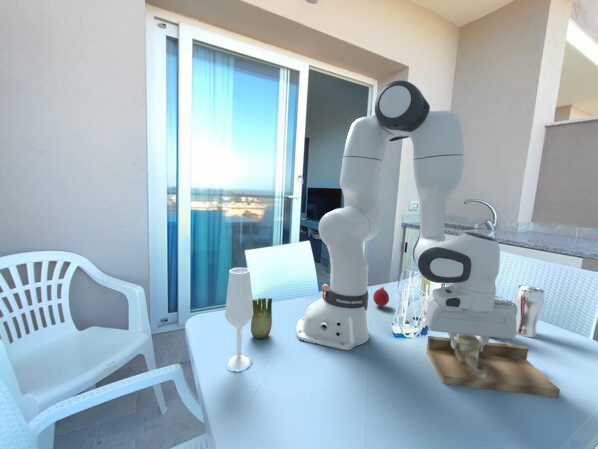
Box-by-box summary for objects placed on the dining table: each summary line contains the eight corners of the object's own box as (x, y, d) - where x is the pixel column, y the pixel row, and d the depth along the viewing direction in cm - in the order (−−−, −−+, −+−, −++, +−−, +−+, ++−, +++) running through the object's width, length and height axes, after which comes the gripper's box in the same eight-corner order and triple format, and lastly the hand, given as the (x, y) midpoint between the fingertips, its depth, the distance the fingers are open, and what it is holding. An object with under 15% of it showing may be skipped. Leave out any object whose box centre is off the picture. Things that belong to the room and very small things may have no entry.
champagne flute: (243, 351, 71) (243, 264, 68) (257, 364, 67) (259, 271, 63) (219, 362, 67) (219, 269, 64) (234, 376, 62) (234, 276, 59)
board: (443, 383, 62) (446, 362, 61) (426, 352, 74) (428, 334, 73) (558, 397, 59) (562, 375, 58) (521, 362, 71) (523, 344, 70)
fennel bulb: (272, 333, 81) (273, 295, 80) (268, 342, 76) (269, 302, 75) (253, 331, 82) (254, 294, 80) (249, 340, 77) (249, 300, 75)
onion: (386, 311, 99) (387, 291, 97) (370, 307, 102) (372, 287, 100) (389, 306, 103) (391, 286, 102) (375, 302, 106) (376, 283, 105)
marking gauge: (471, 377, 62) (474, 353, 61) (453, 352, 71) (455, 331, 70) (489, 379, 61) (493, 355, 60) (469, 354, 70) (472, 333, 70)
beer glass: (515, 335, 85) (521, 290, 83) (507, 325, 91) (513, 283, 89) (542, 340, 82) (550, 294, 80) (532, 330, 89) (539, 286, 87)
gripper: (510, 296, 68) (502, 346, 70) (426, 289, 71) (421, 338, 73) (527, 306, 62) (518, 361, 64) (434, 299, 65) (429, 351, 67)
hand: (466, 349), depth 68 cm, fingers closed on marking gauge, 4 cm apart
